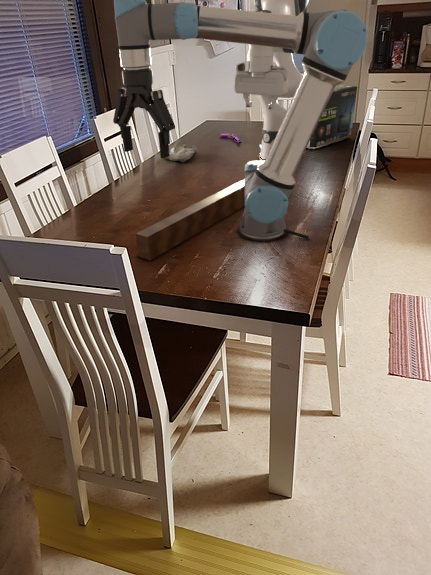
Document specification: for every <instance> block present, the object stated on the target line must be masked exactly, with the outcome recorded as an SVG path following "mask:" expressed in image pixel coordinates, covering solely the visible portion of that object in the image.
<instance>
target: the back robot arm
mask: <svg viewBox="0 0 431 575" xmlns="http://www.w3.org/2000/svg"><path fill="white" fill-rule="evenodd" d="M309 1H310V0H253V4H254V8H255V10H254V12H264V13H273V14H283V15H292V16H298V15H299V14H300V13H301V12H305V10H306V9H307V6H308V4H309ZM246 45H247V46H248V53H247V60H244V61H243V62H240V63H236V64H235V66H234V70H235V71H236V72H235V73H234V77H233V90H234V92H235V94H240V95H241V94H242V97H243V100H244V102H245V107H246V108H252V106H253V101H251V100H250V98H249V97H250V95H253V96H254V97H255V98H256V99H257V101H258V102H259V104H260V107H261V111H262V125H263V126H262V131H261V137H262V139H261V144H259V148H260V153H259V154H260V155H259V154H258V157H259V159H258V160H262V159H267V156H268V154H269V152H270V149H271V147H272V145H273V142H274V140H275V138H276V135H277V133H278V131H279V129H280V126H281V124H282V122H283V119H284V117H285V115H286V112H287V109H286V108H285V107H284V106H283V105H281V104H280V103H279V101H278V99H279V98H281V99H282V98H283V99H290V98H293V96H294V94H295V92H296V89H297V87H298V85H299V82H300V80H301V78H302V75H303V73H301V72H300V70H298V68H297V66H296V64H295V62H294V55H293V54H295V53H294V51H293V50H292V49H287V48H278V47H269V46H260V45H251V44H246ZM274 64H275V65H274ZM260 157H261V158H262V159H261V158H260Z"/></svg>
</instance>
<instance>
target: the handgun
mask: <svg viewBox="0 0 431 575" xmlns="http://www.w3.org/2000/svg"><path fill="white" fill-rule="evenodd" d="M231 133H232V132H230V134H231ZM230 134H229V133H221V134H220V138H228V139H232V140H235V139H236V140H237V141H241V139H239V137H238V136H236V135H235V133H233V134H232V135H231V136H233V135H235V136H236V137H235V136H233V137H235V139H233V138H232V137H228V136H221V135H230ZM236 140H235V141H236ZM237 141H236V142H237ZM241 144H242V141H241V142H239V143H238V145H241Z"/></svg>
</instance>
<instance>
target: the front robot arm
mask: <svg viewBox="0 0 431 575" xmlns="http://www.w3.org/2000/svg"><path fill="white" fill-rule="evenodd" d="M113 9H114V21H115V29H116V35H117V41H118V50H119V58H120V67H121V68H123V69H122V71H121V76H122V84H123V85H124V86H123V87H118V88H117V89H116V90H117V92H116V93H117V99H116V104H115V110H114V114H113V120H112V121H113V124H114V125H115V124H116V125H118V127H119V131H120V138H121V139H122V144H123V151H124V153H127V152H131V151H134V145H133V137H132V130H131V129H132V128H131V125H130V123H129V122H130V120H131V118H132V116H133V115H134V112H135V110H136V109H138V108H140V109H142V110H143V109H144V110H145V111H147V113H148V114H149V116H150V117H151V119H152V120H153V122H154V124H155V125H156V126H157V128H158V130H159V132H158V133H157V135H158V144H159V155H160V158H161V159H163V158H165V157H168V156H170V155H169V151H170V146H169V145H170V144H171V138H170V131H173V130H175V129H176V124H175V122H174V120H173V117H172V115H171V113H170V111H169V108H168V106H167V104H166V101H165V99H164V93H163V90H162V89H156V90H153V87H152V86H153V84H154V74H153V69H152V68H151V66H152V57H151V55H152V54H151V45H150V41H166V40H167V41H168V40H171V41H172V40H183V41H185V40H190V39H194V40H195V39H197V40H205V41H216V42H224V43H225V42H226V43H233V44H243V45H247V44H251V45H260V46H269V47H278V48H287V49H292V50H293V51H294V53H293V54H295V55H303V58H302V60H301V63H300V65H301V67H302V70H303V73H302V78H301V80H300V82H299V85H298V87H297V89H296V92H295V94H294V96H293V97H292V99H291V100H290V103H289V105H288V107H287V109H286V111H287V112H286V115H285V117H284V119H283V122H282V124H281V126H280V129H279V131H278V133H277V135H276V138H275V140H274V142H273V145H272V147H271V149H270V152H269V154H268V156H267V159H266V160H260V159H257V160H251V161H248V162H246V163H245V164H244V170H243V174H244V179H245V202H244V204H245V206H244V211H243V213H242V216H241V217H240V222H239V226H238V232H239V235H240V236H241V237H242V238H244V239H247V240H250V241H254V242H271V241H277V240H279V239H281V238H283V237H285V235H286V234H288V235H289V234H290V235H293V236H297V237H299V238H303V239H306V240H307V239H309V235H307V234H304V233H301V232H297V231H293V230H290V229H287V223H286V221H285V215H286V214H287V211H288V208H289V198H290V196H291V194H292V192H293V190H294V188H295V186H296V184H297V181H296V178H295V173H296V171H297V169H298V166H299V165H300V162H301V161H302V158H303V156H304V153H305V151H306V150H307V149H306V147H307V145H308V143H309V141H310V139H311V137H312V135H313V133H314V131H315V128H316V126H317V124H318V122H319V120H320V118H321V116H322V114H323V112H324V109H325V107H326V105H327V103H328V101H329V99H330V97H331V95H332V93H333V90H334V88H335V87H336V86H338V85H342V84H343V83H345V81H346V80H347V78H348V76H349V75H350V74H349V73H350V72H351V69H352V67H353V66H354V65H355V64H357V62H358V61H359V60H360V59H362V58H361V57H362V56H363V55H364V54H365V53H364V52H365V51H366V47H367V43H368V31H367V27H366V25H365V23H364V21H363V19H362V18H361V17H360V16H359V15H358V14H356V13H355V12H353V11H350V10H347V9H337V10H329V11H327V10H326V11H322V12H321V11H319V12H307V11H303V12H301V13H300V14H299V15H298V16H292V15H283V14H273V13H264V12H254V11H255V10H254V11H253V10H242V9H235V8H234V9H233V8H224V7H215V6H205V5H197V4H195V3H194V2H185V1H179V2H165V3H147V0H113Z"/></svg>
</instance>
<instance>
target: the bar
mask: <svg viewBox="0 0 431 575" xmlns="http://www.w3.org/2000/svg"><path fill="white" fill-rule="evenodd" d="M244 202H245V178H243V179H242V180H239V181H238V182H235V183H233V184H231V185H229V186H227V187H225V188H223V189H222V190H219V191H217V192H216V193H214V194H212V195H210V196H207V197H206V198H204V199H201V200H199V201H198V202H196V203H193V204H192V205H189V206H188V207H186V208H184V209H181V210H180V211H178V212H175V213H174V214H172V215H170V216H167V217H165V218H164V219H161V220H159V221H158V222H156V223H154V224H152V225H150V226H147V227H146V228H144V229H142V230H140V231H138V232H136V233H135V240H136V245H137V253H138V257H139V258H142V259H145V260H147V261H152V260H153V259H155V258H157V257H159V256H160V255H162V254H164V253H166V252H167V251H169V250H171V249H173V248H175V247H176V246H178V245H180V244H182V243H184V242H185V241H186V240H188V239H190V238H193V237H194V236H195V235H197V234H199V233H200V232H203V231H204V230H206V229H207V228H209V227H211V226H213V225H215V224H217V223H218V222H220V221H221V220H224V218H226V217H228V216H230V215H232V214H234V213H235V212H237V211H239V210H241V209H242V208H245V204H244Z"/></svg>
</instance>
